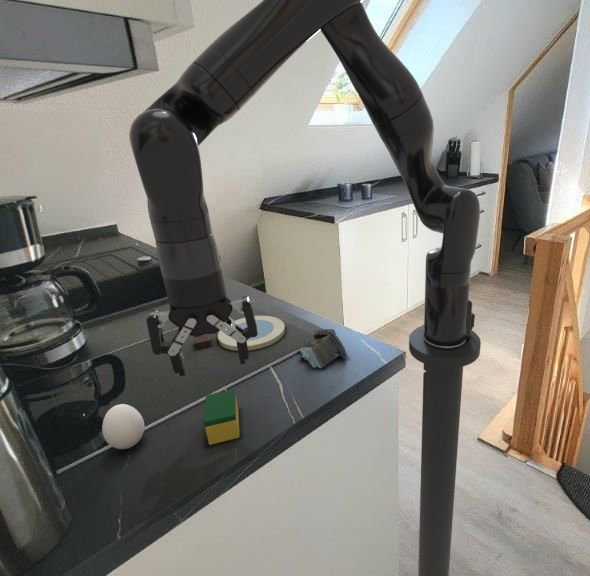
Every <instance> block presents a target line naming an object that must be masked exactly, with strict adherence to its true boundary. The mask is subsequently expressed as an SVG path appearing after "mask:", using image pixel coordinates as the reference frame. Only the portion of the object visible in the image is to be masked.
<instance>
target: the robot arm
mask: <svg viewBox="0 0 590 576" xmlns="http://www.w3.org/2000/svg"><path fill="white" fill-rule="evenodd" d="M363 1H364V0H262V1H260V3H258V4H257V5H256V6H255V7H253V8H252V9H251V10H249V11H248V12H247V13H246V14H245V15H243V16H242V17H241V18H239V19H238V20H237V21H236V22H235V23H233V24H232V25H230V26H229V27H228V28H227V29H226V30H225V31H224V32H223V33H221V34H220V35H219V36H218V37H217V38H215V40H213V42H212V43H210V44H209V45H208V46H207V47H206V49H204V50H203V52H201V53H200V55H198V56H197V57H196V58H195V59H194V60H193V61H192V62H191V63H190V64H189V65H188V66H187V68H186V69H185V70H184V71H183V73H182V74H181V75H180V76H179V78H178V80H176V82H175V83H174V84H173V85H172V86H171V87H170V88H168V89H167V90H166V91H165V92H164V93H163V94H162V95H160V96H159V97H158V98H157V99H156V100H155V101H154V102H152V104H150V105H149V106H148V107H147V108H146V109H145V110H143V111H142V112H141V113H140V114H139V115H137V116H136V117H135V119H134V120H133V121H132V123H131V125H130V128H129V133H128V134H129V135H128V136H129V137H128V138H129V143H130V147H131V151H132V155H133V158H134V161H135V164H136V167H137V171H138V174H139V177H140V180H141V184H142V187H143V189H144V193H145V196H146V199H147V201H146V202H147V203H146V204H147V211H148V217H149V222H150V225H151V229H152V234H153V237H154V241H155V246H156V257H157V262H158V266H159V269H160V273H161V277H162V281H163V285H164V288H165V293H166V296H167V301H168V305H169V310H167V311H159V310H158V309H151V310H150V311H149V313H148V315H147V317H146V325H147V326H146V327H147V331H148V336H149V340H150V345H151V349H152V352H153V355H156V356H159V355H163V354H164V355H167V356H169V359H170V362H171V367H172V370H173V372H174V374H179V377H184V376H186V375H187V365H186V361H185V357H184V354H183V349H182V347H183V345H184V344H185V343H186V341H187V340H188V337H190V336H191V337H194V338H195V337H199V336H204V335H215V334H216V335H217V334H218V333H219V331H220V330H221V331H222V332H223V333H225V334H226V335H228V336H231V337H232V338H234V339H235V340H236V341H237V348H238V351H237V352H238V357H239V363H240V365H245V364H246V361H247V360H249V358H250V353H249V352H250V351H248V346H247V340H248V339H249V338H251V337H256V336H257V335H258V332H257V325H256V321H255V317H254V316H255V314H254V309H253V305H252V301H251V297H250V296H249V295H244V296H242V298H241V299H236V300H232V301H231V299H229V297H228V294H227V291H226V284H225V278H224V275H223V268H222V264H221V262H222V259H221V255H220V254H219V249H218V245H217V242H216V240H215V236H214V232H213V229H212V222H211V218H210V213H209V207H208V205H207V201H206V198H205V193H204V192H205V191H204V180H203V179H204V178H203V168H202V159H201V154H200V149H199V148H200V147H199V146H200V145H201V144H202V143H203V142H204V141H205V140H206V139H207V138H208V137H209V136H210V135H211V134H212V133H213V131H215V129H216V128H218V127H219V126H220V125H222V124H224V123H226V122H228V121H229V120H231V119H232V118H233V117H234V116H235V115H236V114H237V113H238V112H240V111H241V110H242V108H244V106H246V104H247V103H248V102H249V101H250V100H251V99H252V98H253V97H254V96H255V95H256V94H257V93H259V91H260V90H261V89H262V88H263V87H264V86H265V85H266V84H267V82H268V81H269V80H270V79H271V78H272V77H273V76H274V75H275V74H276V73H277V72H278V71H279V70H280V69H281V68H282V67H283V65H284V64H285V63H287V61H288V60H289V59H291V57H292V56H293V55H294V54H295V53H296V52H297V51H298V50H299V49H300V48H301V47H302V46H303V45H305V44H306V43H307V42H308V41H309V40H310V39H312V38H313V37H314V36H315V35H316V34H317V33H318V32H321V34H322V35H323V36H324V38H325V39H326V41H327V42H328V44H329V46H330V47H331V48H332V50H333V52H334V53H335V55H336V56H337V58H338V61H340V63H341V65H342V68H343V70H344V71H345V73H346V75H347V77H348V79H349V81H350V84H352V87H353V88H354V90H355V92H356V94H357V96H358V98H359V100H360V101H361V104H362V105H363V108H364V109H365V111H366V113H367V115H368V118H369V119H370V121H371V123H372V125H373V127H374V129H375V130H376V132H377V134H378V137H379V138H380V140H381V141H382V143H383V144H384V147H385V148H386V149H387V152H388V154H389V156H390V157H391V160H392V161H393V163H394V165H395V167H396V169H397V171H398V173H399V174H400V176H401V179H402V180H403V182H404V184H405V186H406V189H407V191H408V194H409V196H410V198H411V201H412V204H413V207H414V209H415V212H416V214H417V216H418V218H419V220H420V222H421V223H422V225H423V226H424V227H425V228H427V229H428V230H430V231H432V232H435V233H438V234H442V242H441V246H440V247H436V248H432V249H430V250H428V251H427V252H426V255H425V271H424V275H425V276H424V313H423V314H424V317H423V323H422V326H423V328H424V334H423V340H424V342H425V343H426V344H427V345H429V346H431V347H433V348H436V349H441V350H453V349H457V348H460V347H462V346H463V345H464V344H465V343H466V342H469V341H470V332H471V330H472V331H473V328H474V327H475V318H476V317H475V316H476V314H475V313H474V312H472V311H473V302H472V301H471V300H470V299H469V298H470V285H471V284H470V283H471V272H472V271H471V269H472V268H471V267H472V261H473V258H474V256H475V254H476V249H477V243H478V234H479V233H478V232H479V226H480V219H481V203H480V199H479V197H478V195H477V194H476V192H474V191H473V190H471V189H469V188H463V187H458V186H450V185H447V184H445V182H444V181H443V180H442V178H441V176H440V175H439V172H438V170H437V168H436V166H435V163H434V160H433V145H434V131H435V126H434V119H433V116H432V113H431V110H430V107H429V105H428V103H427V100H426V99H425V96H424V94H423V92H422V88H421V87H420V85H419V83H418V81H417V79H416V78H415V77H414V75H413V74H412V73H411V71H410V70H409V69H408V68H407V66H406V65H405V64H404V63H403V61H401V60H400V59H399V58H398V56H397V55H396V54H395V53H394V52H393V51H392V50H391V49H390V48H389V47H388V46H387V44H386V43H385V42H384V41H383V40H382V38H381V37H380V36H379V34H378V33H377V31H376V30H375V27H374V26H373V24H372V22H371V21H370V18H369V16H368V14H367V11H366V9H365V7H364V5H363ZM233 310H235V311H237V313H238V314H239V315H244V318H245V319H246V323H247V327H246V328H245V329H242V328H241V327H240V326H239V325H237V324H236V323H235V321H236V320H235V319H233V318H232V317H231V314H232V312H233ZM167 321H170V322H171V323H172V324H173V325H175V326H176V327H177V328H178V329H177V330H176V332H175V334H174V335H173V338H172V339H171V341H165V338H164V332H163V328H164V327H166V323H167Z"/></svg>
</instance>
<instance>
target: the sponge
mask: <svg viewBox="0 0 590 576" xmlns="http://www.w3.org/2000/svg"><path fill="white" fill-rule="evenodd" d="M204 399H205V400H204V413H203V414H204V415H203V425H204V429H205V435H206V438H207V442H208V446H211V445H216V444H219V443H223V442H227V441H232V440H236V439H239V438H240V418H239V417H240V416H239V406H238V401H237V396H236V390H235V389H233V388H232V389H229V390H223V391H220V392H218V391H217V392H214V393H210V394H205V398H204Z"/></svg>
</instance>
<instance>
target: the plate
mask: <svg viewBox="0 0 590 576" xmlns="http://www.w3.org/2000/svg"><path fill="white" fill-rule="evenodd" d="M254 317H255V321H256V325H257V332H258V335H257V336H256V337H251V338H249V339H248V340H247V346H248V352H250V351H255V350H259V349H263V348H267V347H269V346H271V345H273V344H275V343H277V342H278V341H279V340H281V339H282V337H283V336H284V335H285V332H286V326H285V323H284V321H282V320H281V319H280V318H278V317H276V316H275V317H274V316H271V315H254ZM234 321H235V323H236V324H237V325H239V326H240V327H241V328H242V329H245V328H246V327H247V323H246V319H245V317H241V318H239V319H236V320H234ZM217 340H218V344H219V345H220V346H221V347H222V348H224V349H227V350H229V351H234V352H235V351H236V352H238V348H237V341H236V340H235V339H234V338H232V337H231V336H228V335H226V334H225V333H223V332H222V331H221V330H220V331H218V332H217Z"/></svg>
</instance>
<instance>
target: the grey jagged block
mask: <svg viewBox="0 0 590 576" xmlns="http://www.w3.org/2000/svg"><path fill="white" fill-rule="evenodd" d="M336 333H337V332H336V331H335V330H334V329H333V328H329V329H328V328H326V329H325V328H324V329H319V330H317V329H316V330H314V333H313V338H314V339H313V340H311V341H310V342H309V343H307V344H305V345H303V346H302V347H300V349H299V352H300V354H301V357H300V360H301V361H307V362H308V364H310V366H311V367H312V368H319V369H323V368H325V367H326V366H327V365H328V364H330V363H331V362H333V361H334V360H335V359H337V358H338V357H339V358H348V353H347V351H346V347H344V344H343V343H342V341H341V339H340V338H339V337H338V335H337V334H336Z"/></svg>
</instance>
